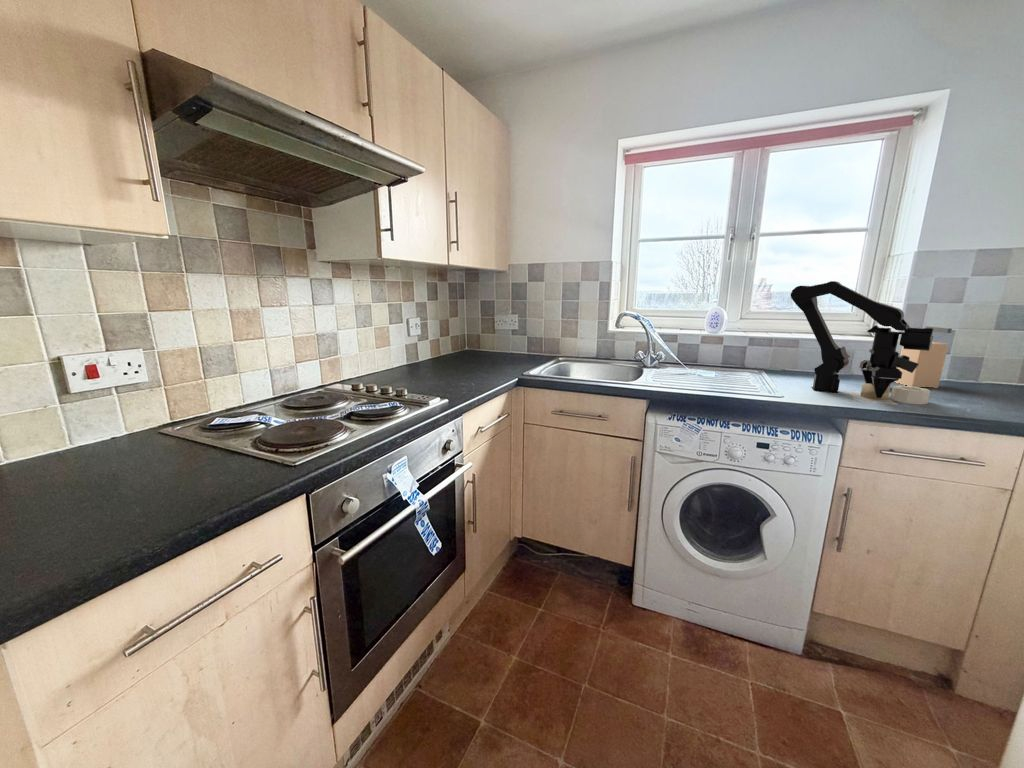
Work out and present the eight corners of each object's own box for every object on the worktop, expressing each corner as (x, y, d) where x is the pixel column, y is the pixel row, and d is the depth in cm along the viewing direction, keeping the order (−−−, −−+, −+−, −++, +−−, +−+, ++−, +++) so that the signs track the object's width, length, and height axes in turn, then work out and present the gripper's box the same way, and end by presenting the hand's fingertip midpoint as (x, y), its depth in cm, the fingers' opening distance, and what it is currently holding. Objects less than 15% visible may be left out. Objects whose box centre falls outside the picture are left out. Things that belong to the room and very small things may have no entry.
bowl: (895, 403, 127) (898, 389, 126) (887, 397, 133) (890, 384, 133) (930, 406, 123) (933, 392, 122) (920, 400, 130) (923, 387, 129)
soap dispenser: (893, 382, 156) (906, 325, 151) (918, 383, 155) (931, 325, 150) (921, 390, 144) (936, 328, 139) (948, 390, 142) (964, 328, 138)
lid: (863, 398, 131) (866, 381, 129) (857, 393, 136) (861, 377, 135) (890, 401, 128) (894, 383, 126) (884, 396, 133) (887, 379, 132)
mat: (856, 401, 128) (857, 400, 128) (844, 391, 142) (845, 390, 142) (898, 406, 123) (898, 404, 123) (881, 394, 137) (882, 393, 137)
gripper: (930, 352, 117) (918, 404, 120) (906, 345, 133) (896, 391, 136) (880, 350, 122) (870, 400, 125) (863, 343, 138) (855, 387, 141)
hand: (874, 394), depth 132 cm, fingers open, 9 cm apart
